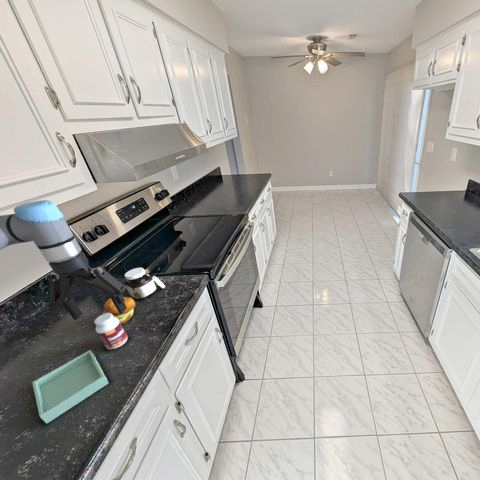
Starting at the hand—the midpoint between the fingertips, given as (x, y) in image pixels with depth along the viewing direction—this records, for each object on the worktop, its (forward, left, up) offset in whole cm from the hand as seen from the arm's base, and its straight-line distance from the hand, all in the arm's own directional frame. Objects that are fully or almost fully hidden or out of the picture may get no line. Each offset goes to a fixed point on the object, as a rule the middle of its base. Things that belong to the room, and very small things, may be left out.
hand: (101, 313), depth 80 cm
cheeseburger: (-13, +5, -13) cm, 19 cm away
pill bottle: (0, 0, -13) cm, 13 cm away
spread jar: (-21, +18, -13) cm, 31 cm away
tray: (+8, -13, -13) cm, 20 cm away
